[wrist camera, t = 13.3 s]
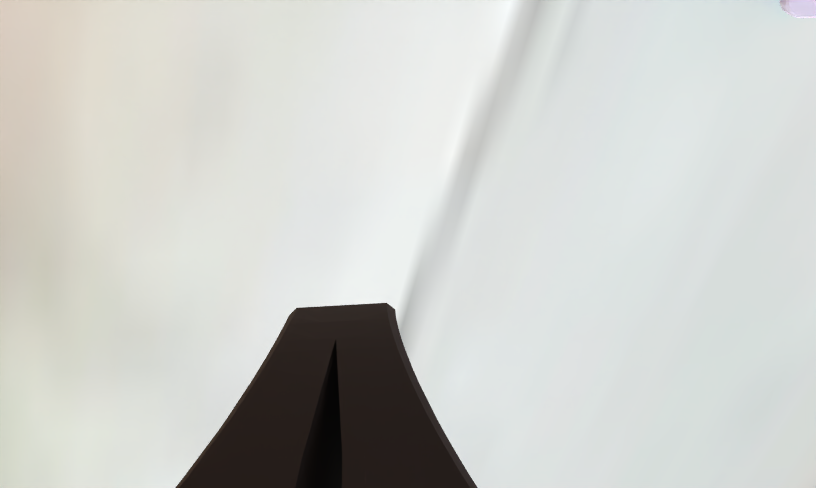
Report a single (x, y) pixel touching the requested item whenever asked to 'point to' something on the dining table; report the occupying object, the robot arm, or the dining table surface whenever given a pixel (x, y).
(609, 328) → the dining table surface
